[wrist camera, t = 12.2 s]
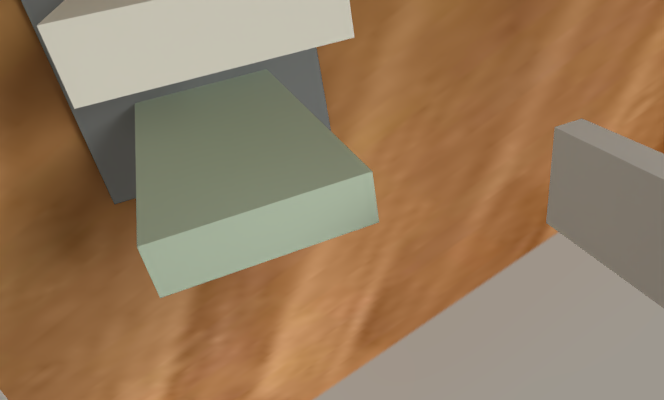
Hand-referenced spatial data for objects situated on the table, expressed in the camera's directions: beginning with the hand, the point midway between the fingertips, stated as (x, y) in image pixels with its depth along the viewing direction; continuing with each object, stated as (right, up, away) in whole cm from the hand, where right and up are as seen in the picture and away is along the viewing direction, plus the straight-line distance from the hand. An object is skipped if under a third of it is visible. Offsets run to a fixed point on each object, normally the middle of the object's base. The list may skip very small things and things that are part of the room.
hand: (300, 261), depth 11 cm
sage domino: (-5, +6, +12) cm, 14 cm away
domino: (-6, +10, +9) cm, 15 cm away
